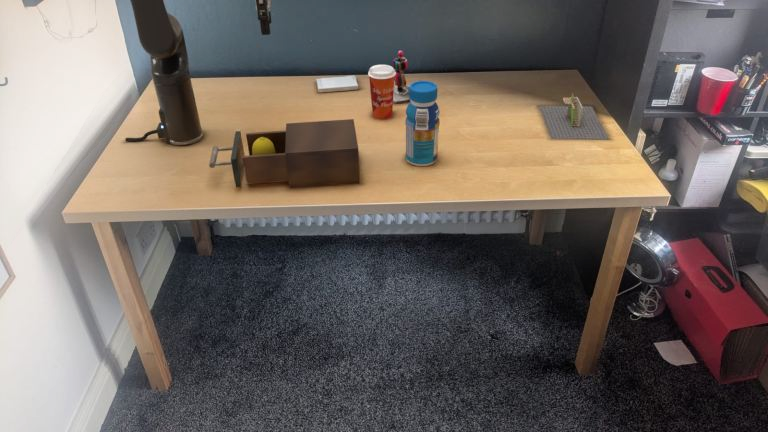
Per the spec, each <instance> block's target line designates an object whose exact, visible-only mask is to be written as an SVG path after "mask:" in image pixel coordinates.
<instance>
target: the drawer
mask: <svg viewBox="0 0 768 432" xmlns="http://www.w3.org/2000/svg"><path fill="white" fill-rule="evenodd" d="M260 137H263V138H267V139H269V140H270V141H271V142H272V143H273V145H274V148H275V153H276V154H264V155H252V146H253V143H254V142H255V141H256V140H257V139H258V138H260ZM245 139H246V144H247V149H248V150H247V151H248V155H246V154H245V151H244V150H245V149H244V144H243V138H242V132H241V130H236V131H235V133H234V138H233V145H232V146H229V147H228V146H226V147H218V146H213V147H212V151H211V154H210V159H209V162H208V163H209V164H208V166H209V168H211V169H215V167H217V166H231V168H232V172H233V173H232V174H233V179H234V184H235V188H236V189H239V188H242V184H243V177H244V173H245V179H246V184H247V185H252V184H266V183H279V182H281V183H282V182H289V179H288V171H287V163H286V155H285V146H286V130H272V131H257V132H246V133H245ZM225 151H226V152H227V151H231V155H230V161H217V159H218V155H219V152H225Z"/></svg>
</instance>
